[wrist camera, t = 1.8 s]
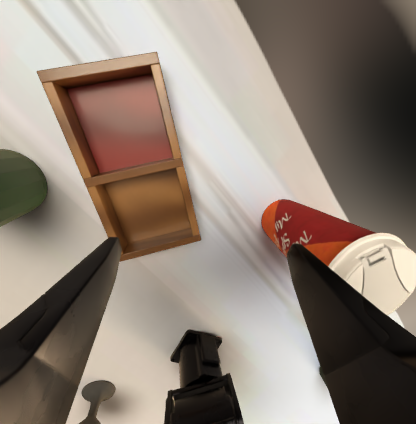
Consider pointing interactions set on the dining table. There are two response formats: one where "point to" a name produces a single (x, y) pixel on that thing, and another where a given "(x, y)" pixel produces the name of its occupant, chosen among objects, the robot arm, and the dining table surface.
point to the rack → (126, 150)
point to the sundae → (96, 398)
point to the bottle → (19, 186)
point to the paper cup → (347, 251)
